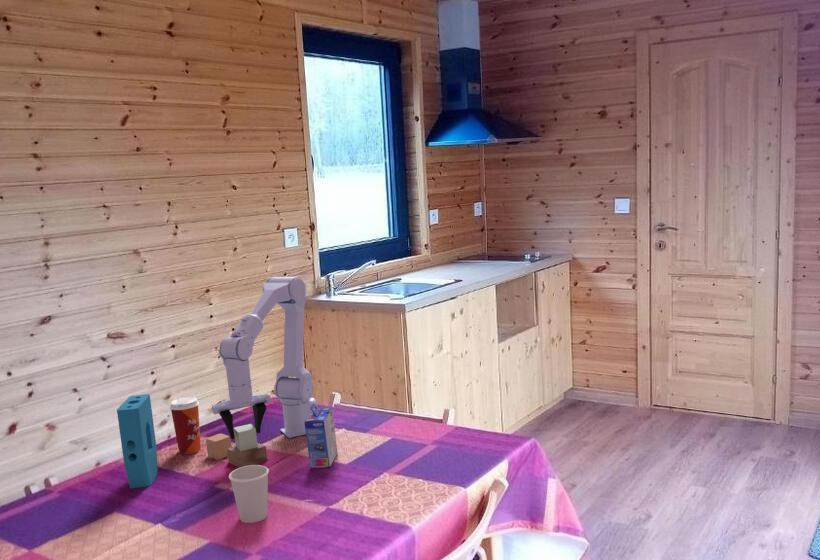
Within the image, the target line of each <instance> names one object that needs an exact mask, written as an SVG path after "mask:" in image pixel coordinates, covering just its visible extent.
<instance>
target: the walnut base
mask: <svg viewBox="0 0 820 560" xmlns="http://www.w3.org/2000/svg"><path fill="white" fill-rule="evenodd" d="M257 445H258V447H257V448H253V449H249V450H245V451H239V449H238V448H237V447H236V445H234V446H231V448H228V449H227V452H228V456H227V458H228V460H227V461H228V463H229V464H231V465H233V466H236V467H238V468H240V467H244V466H249V465H259V464H260V463H262V462H265V461H267V460H268V452H267V446H266V445H265V444H262V443H259V442H257Z"/></svg>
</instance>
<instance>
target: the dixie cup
mask: <svg viewBox="0 0 820 560" xmlns="http://www.w3.org/2000/svg"><path fill="white" fill-rule="evenodd" d="M269 472H270V469H269V468H268V467H267V466H265V465H260V464H255V465H249V466H244V467H238V468H236V469H233V470H232V471H231V472H230V473H229V475H228V479H229V480H230V483H231V487H232V492H233V495H234V500H235V503H236V504H235V505H236V508H237V513H238V515H239V520H240V521H241V522H242V523H244V524H253V523H254V524H255V523H258V522H261V521H263V520H265V519H266V518H267V517H268V488H269V485H268V484H269Z"/></svg>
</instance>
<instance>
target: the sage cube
mask: <svg viewBox="0 0 820 560" xmlns="http://www.w3.org/2000/svg"><path fill="white" fill-rule="evenodd" d="M233 430H234V435H235V439H234V441H235V443H234V444H235V446H236V447H237V448H238V449H239V451H245V450H249V449H253V448H257V447H258V445H257V443H258V437H257V432H256V428H255V425H253V424H252V423H247V424H244V425H240V426H233Z"/></svg>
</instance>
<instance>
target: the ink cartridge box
mask: <svg viewBox="0 0 820 560" xmlns="http://www.w3.org/2000/svg"><path fill="white" fill-rule="evenodd" d="M314 407H315V408H316V409H314ZM310 409H311V410H312V411H311V413H310V414H309V416H308V417H307V419H306V420H305V422H304V423H305V431H306V434H305V437H306V445H307V451H308V452H307V453H308V459H309V468H310V469H312V468H313V469H314V468H315V469H317V468H319V469H320V468H322V469H323V468H330V467H332V464H333V462H334V460H335V459H336V456H337V455H338V444H337V443H338V442H337V437H336V435H337V434H336V429H335V428H336V427H335V419H334V413H333V407H325V408H323V407H322V408H320V407H318V408H317V407H316V405H315V404H314V403H313V404H312V406H311V407H310Z"/></svg>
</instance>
